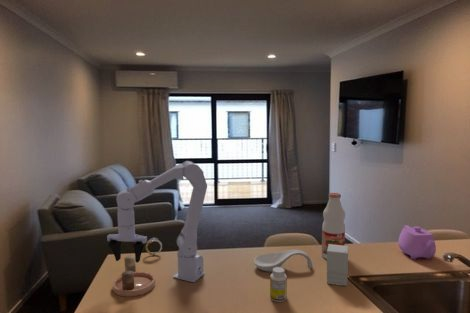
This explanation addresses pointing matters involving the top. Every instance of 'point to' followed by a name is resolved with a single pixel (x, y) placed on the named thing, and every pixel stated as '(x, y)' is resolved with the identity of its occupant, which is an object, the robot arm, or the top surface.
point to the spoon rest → (278, 259)
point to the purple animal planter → (417, 242)
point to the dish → (135, 285)
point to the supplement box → (337, 264)
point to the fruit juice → (333, 223)
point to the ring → (151, 242)
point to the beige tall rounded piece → (130, 263)
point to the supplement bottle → (278, 285)
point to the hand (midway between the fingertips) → (128, 260)
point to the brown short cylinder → (128, 280)
